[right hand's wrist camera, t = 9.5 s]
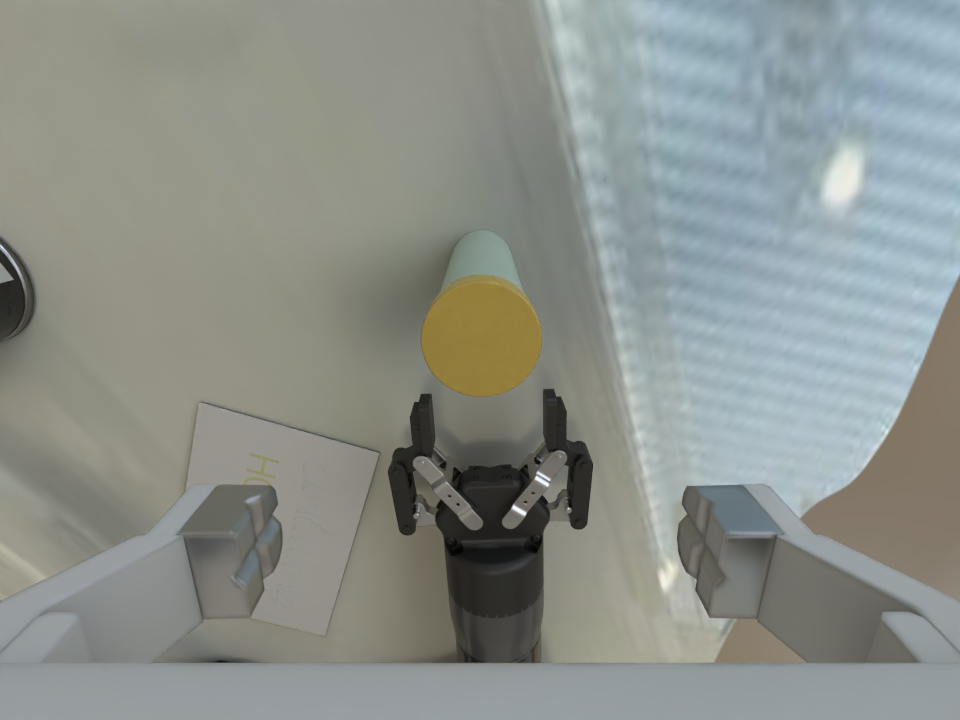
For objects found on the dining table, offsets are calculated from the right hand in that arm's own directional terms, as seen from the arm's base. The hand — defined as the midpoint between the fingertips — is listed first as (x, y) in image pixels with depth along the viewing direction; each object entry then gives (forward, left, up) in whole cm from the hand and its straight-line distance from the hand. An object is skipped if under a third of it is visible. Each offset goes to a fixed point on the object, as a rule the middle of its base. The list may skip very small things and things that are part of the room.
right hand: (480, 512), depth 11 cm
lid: (0, 0, -12) cm, 12 cm away
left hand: (+7, +4, -24) cm, 25 cm away
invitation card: (+30, -5, -30) cm, 43 cm away
